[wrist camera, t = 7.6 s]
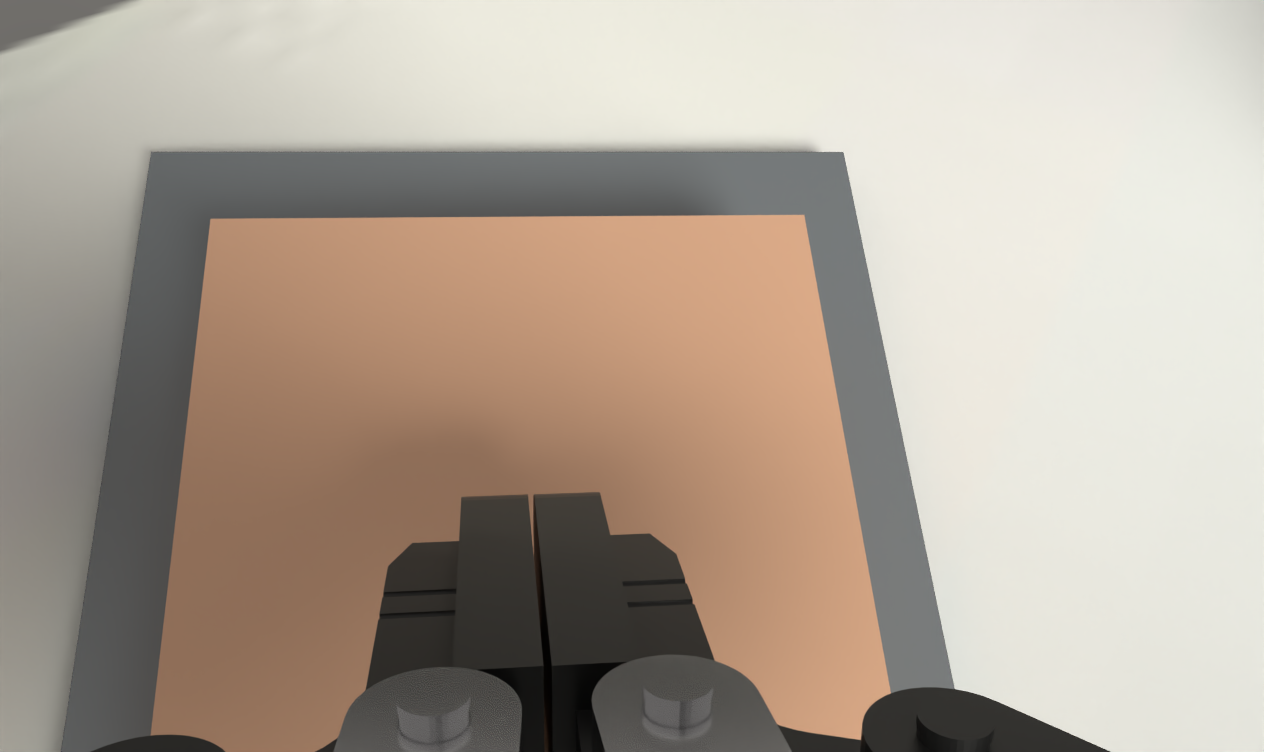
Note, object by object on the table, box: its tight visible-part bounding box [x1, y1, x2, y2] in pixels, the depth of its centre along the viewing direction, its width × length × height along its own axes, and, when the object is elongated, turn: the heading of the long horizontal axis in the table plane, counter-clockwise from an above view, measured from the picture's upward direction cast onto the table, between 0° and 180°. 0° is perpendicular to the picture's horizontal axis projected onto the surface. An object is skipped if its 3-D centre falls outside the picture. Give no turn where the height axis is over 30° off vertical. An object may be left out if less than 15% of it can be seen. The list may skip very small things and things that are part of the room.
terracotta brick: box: [151, 215, 891, 752], centre depth 16 cm, size 3×9×10 cm
